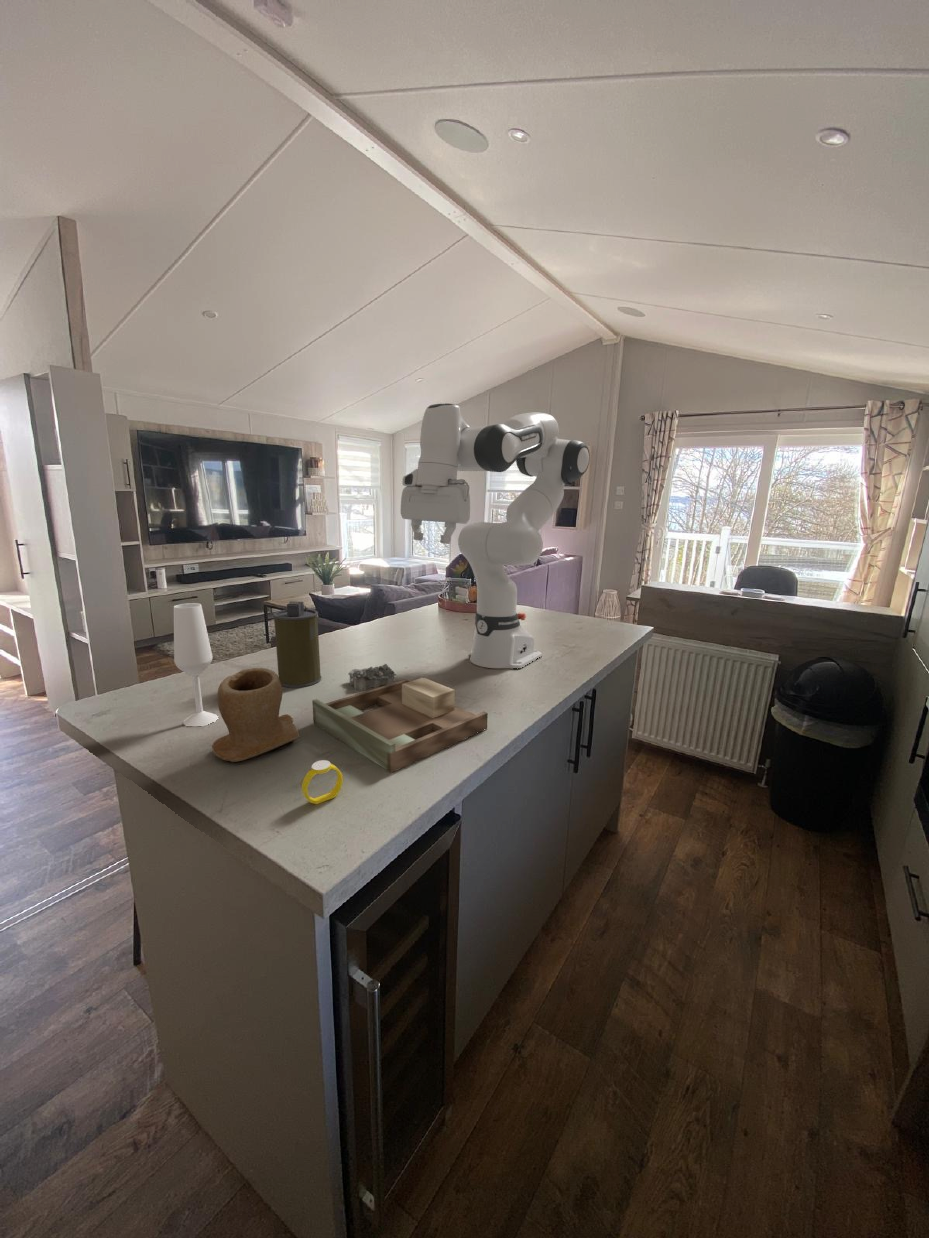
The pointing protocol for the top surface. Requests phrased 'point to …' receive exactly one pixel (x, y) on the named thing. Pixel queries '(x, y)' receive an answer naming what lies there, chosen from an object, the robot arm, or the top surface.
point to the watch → (321, 768)
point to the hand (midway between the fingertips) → (431, 541)
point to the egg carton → (371, 677)
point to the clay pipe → (252, 715)
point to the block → (428, 697)
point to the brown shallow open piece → (393, 726)
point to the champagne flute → (192, 654)
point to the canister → (297, 645)
